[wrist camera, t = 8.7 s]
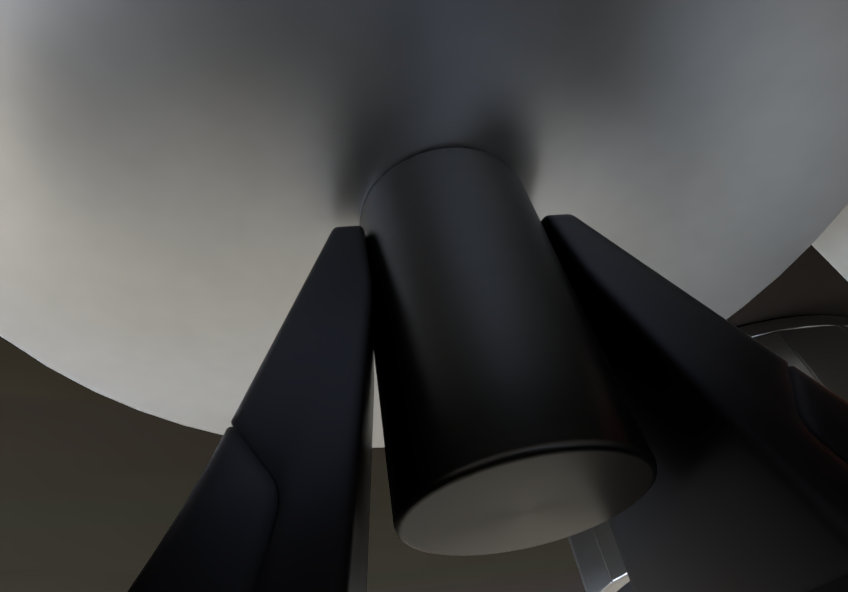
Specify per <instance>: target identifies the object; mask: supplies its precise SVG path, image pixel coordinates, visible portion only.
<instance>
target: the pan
mask: <svg viewBox="0 0 848 592" xmlns="http://www.w3.org/2000/svg"><path fill="white" fill-rule="evenodd" d="M739 329H740V330H742V331H743V332H745V333H746V334H748V335H749V336H751V337H752V338H754V339H755V340H756V341H758V342H759V343H761V344H762V345H764V346H765V347H767V348H768V349H770V350H771V351H773V352H774V353H775V354H777V355H778V356H780V357H781V358H783V359H784V360H786V361H787V363H788V366H795V367H796V368H798V369H799V370H801V371H802V372H804V373H805V374H806V375H808V376H809V377H811V378H812V379H814V380H815V381H817V382H818V383H820V384H821V385H822V386H824V387H826V388H827V389H829V390H830V391H832V392H833V393H835V394H836V395H838V396H839V397H841V398H842V399H844V400H845V401H847V402H848V317H843V316H830V315H811V316H796V317H788V318H781V319H774V320H769V321H764V322H760V323H755V324H750V325H746V326H742V327H739ZM568 539H569V542H570V545H571V548H572V551H573V554H574V557H575V560H576V563H577V567H578V570H579V573H580V576H581V579H582V582H583V585H584V588H585V591H586V592H634V590H633V588H632V585H631V582H630V579H629V577H628V574H627V571H626V568H625V565H624V563H623V560H622V557H621V554H620V551H619V549H618V546H617V543H616V540H615V538H614V535H613V532H612V529H611V526H610V524H609V521H608V520H607V521H605V522H603V523H601V524H599V525H597V526H594V527H592V528H590V529H587V530H585V531H582V532H580V533H577V534H574V535H572V536H569V537H568Z"/></svg>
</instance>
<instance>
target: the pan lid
mask: <svg viewBox="0 0 848 592" xmlns="http://www.w3.org/2000/svg"><path fill="white" fill-rule="evenodd" d="M847 204H848V0H0V336H1V337H3V338H4V339H6V340H7V341H9V342H10V343H12V344H13V345H15V346H16V347H18V348H19V349H21V350H23V351H24V352H26V353H27V354H29V355H30V356H32V357H33V358H35V359H36V360H38V361H39V362H41V363H42V364H44V365H45V366H47V367H49V368H51V369H53V370H54V371H56V372H58V373H60V374H62V375H64V376H66V377H68V378H69V379H71V380H73V381H75V382H77V383H79V384H81V385H83V386H85V387H86V388H88V389H90V390H92V391H94V392H96V393H99V394H101V395H103V396H106V397H108V398H111V399H113V400H115V401H118V402H120V403H122V404H125V405H127V406H129V407H132V408H134V409H136V410H139V411H142V412H145V413H148V414H151V415H154V416H157V417H160V418H163V419H166V420H169V421H172V422H175V423H178V424H181V425H184V426H188V427H192V428H196V429H200V430H204V431H208V432H212V433H216V434H220V435H224V433H225V431H226V429H227V428H228V427H232V424H231V420H232V418H233V417H234V415H235V413H236V411H237V409H238V407H239V405H240V403H241V401H242V400H243V398H244V396H245V394H246V392H247V390H248V388H249V386H250V384H251V383H252V381H253V379H254V377H255V375H256V373H257V371H258V369H259V367H260V366H261V364H262V362H263V360H264V358H265V356H266V354H267V352H268V350H269V349H270V347H271V345H272V343H273V341H274V339H275V337H276V335H277V333H278V332H279V330H280V328H281V326H282V324H283V322H284V320H285V318H286V316H287V315H288V313H289V311H290V309H291V307H292V305H293V303H294V301H295V299H296V297H297V296H298V294H299V292H300V290H301V288H302V286H303V284H304V282H305V280H306V279H307V277H308V275H309V273H310V271H311V269H312V267H313V265H314V263H315V262H316V260H317V258H318V256H319V254H320V252H321V250H322V248H323V246H324V245H325V243H326V241H327V239H328V237H329V235H330V233H331V231H332V230H333V229H334V228H335V227H344V226H361V227H363V229H364V232H365V238H366V245H367V252H368V258H369V265H370V272H371V278H372V292H373V349H374V409H373V435H372V448H382V447H385V453H386V462H387V471H388V480H389V488H390V497H391V506H392V514H393V523H394V529H395V530H396V532H397V534H398V536H399V538H400V539H401V540H402V541H403V542H404V543H405V544H407V545H409V546H410V547H412V548H415V549H417V550H420V551H424V552H429V553H435V554H442V555H457V556H469V555H485V554H495V553H502V552H509V551H515V550H520V549H525V548H529V547H534V546H538V545H542V544H546V543H549V542H553V541H556V540H560V539H563V538H566V537H569V536H572V535H574V534H577V533H580V532H582V531H585V530H587V529H590V528H592V527H594V526H597V525H599V524H601V523H603V522H605V521H607V520H609V519H611V518H612V517H614V516H616V515H618V514H620V513H621V512H623V511H624V510H626V509H627V508H629V507H630V506H632V505H633V504H634V503H635V502H637V501H638V500H639V499H641V498H642V497H643V496H644V495H645V494H646V493H647V492H648V490H649V489H650V488H651V487H652V485H653V483H654V481H655V479H656V475H657V464H656V459H655V457H654V455H653V453H652V451H651V449H650V447H649V445H648V443H647V441H646V439H645V436H644V434H643V432H642V430H641V428H640V426H639V424H638V422H637V420H636V418H635V416H634V414H633V412H632V410H631V407H630V405H629V403H628V401H627V399H626V397H625V395H624V393H623V391H622V389H621V387H620V385H619V383H618V381H617V378H616V376H615V374H614V372H613V370H612V368H611V366H610V364H609V362H608V360H607V358H606V356H605V354H604V352H603V349H602V347H601V345H600V343H599V341H598V339H597V337H596V335H595V333H594V331H593V329H592V327H591V325H590V323H589V320H588V318H587V316H586V314H585V312H584V310H583V308H582V306H581V304H580V302H579V300H578V298H577V296H576V294H575V292H574V289H573V287H572V285H571V283H570V281H569V279H568V277H567V275H566V273H565V271H564V269H563V267H562V265H561V263H560V260H559V258H558V256H557V254H556V252H555V250H554V248H553V246H552V244H551V242H550V240H549V238H548V236H547V234H546V231H545V229H544V227H543V225H542V223H541V220H542V219H543V218H544V217H545V216H547V215H560V214H571V215H573V216H575V217H577V218H578V219H580V220H581V221H582V222H584V223H585V224H587V225H588V226H590V227H591V228H593V229H594V230H596V231H597V232H599V233H600V234H601V235H603V236H604V237H606V238H607V239H609V240H610V241H612V242H613V243H615V244H616V245H618V246H619V247H620V248H622V249H623V250H625V251H626V252H628V253H629V254H631V255H632V256H634V257H635V258H637V259H638V260H640V261H641V262H642V263H644V264H645V265H647V266H648V267H650V268H651V269H653V270H654V271H656V272H657V273H659V274H660V275H661V276H663V277H664V278H666V279H667V280H669V281H670V282H672V283H673V284H675V285H676V286H678V287H679V288H680V289H682V290H683V291H685V292H686V293H688V294H689V295H691V296H692V297H694V298H695V299H697V300H698V301H699V302H701V303H702V304H704V305H705V306H707V307H708V308H710V309H711V310H713V311H714V312H716V313H717V314H718V315H720V316H721V317H723V318H724V319H727V318H729V317H730V316H732V315H733V314H734V313H736V312H737V311H738V310H740V309H741V308H742V307H744V306H745V305H746V304H747V303H748V302H750V301H751V300H752V299H753V298H754V297H755V296H757V295H758V294H759V293H760V292H761V291H762V290H764V289H765V288H766V287H767V286H768V285H769V284H771V283H772V282H773V281H774V280H775V279H776V278H778V277H779V276H780V275H781V274H782V273H783V272H784V271H785V270H786V269H787V268H788V267H789V266H790V265H791V264H792V263H793V262H794V261H795V260H796V259H797V258H798V257H799V256H800V255H801V254H802V253H803V252H804V251H805V250H806V249H807V248H808V247H809V246H810V245H811V244H812V243H814V242H815V241H816V240H817V239H818V237H819V236H820V235H821V234H822V233H823V232H824V231H825V229H826V228H827V227H828V226H829V225H830V224H831V222H832V221H833V220H834V219H835V218H836V217H837V216H838V214H839V213H840V212H841V211H842V210H843V209H844V208H845V206H846V205H847Z"/></svg>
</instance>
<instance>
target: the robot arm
mask: <svg viewBox="0 0 848 592" xmlns="http://www.w3.org/2000/svg"><path fill="white" fill-rule="evenodd" d="M541 223H542V225H543V227H544V229H545V231H546V234H547V236H548V238H549V240H550V242H551V244H552V246H553V248H554V250H555V252H556V254H557V256H558V258H559V260H560V263H561V265H562V267H563V269H564V271H565V273H566V275H567V277H568V279H569V281H570V283H571V285H572V287H573V289H574V292H575V294H576V296H577V298H578V300H579V302H580V304H581V306H582V308H583V310H584V312H585V314H586V316H587V318H588V320H589V323H590V325H591V327H592V329H593V331H594V333H595V335H596V337H597V339H598V341H599V343H600V345H601V347H602V349H603V352H604V354H605V356H606V358H607V360H608V362H609V364H610V366H611V368H612V370H613V372H614V374H615V376H616V378H617V381H618V383H619V385H620V387H621V389H622V391H623V393H624V395H625V397H626V399H627V401H628V403H629V405H630V407H631V410H632V412H633V414H634V416H635V418H636V420H637V422H638V424H639V426H640V428H641V430H642V432H643V434H644V436H645V439H646V441H647V443H648V445H649V447H650V449H651V451H652V453H653V455H654V457H655V459H656V464H657V475H656V479H655V481H654V483H653V485H652V487H651V488H650V489H649V490H648V492H647V493H646V494H645V495H644V496H643V497H642V498H641V499H639V500H638V501H637V502H635V503H634V504H633V505H632V506H630V507H629V508H627V509H626V510H624V511H623V512H621V513H620V514H618V515H616V516H614V517H612V518H611V519H609V520H608V521H609V524H610V526H611V529H612V532H613V535H614V538H615V540H616V543H617V546H618V549H619V551H620V554H621V557H622V560H623V563H624V565H625V568H626V571H627V574H628V577H629V579H630V582H631V585H632V588H633V590H634V592H848V402H847V401H845V400H844V399H842V398H841V397H839V396H838V395H836V394H835V393H833V392H832V391H830V390H829V389H827V388H826V387H824V386H822V385H821V384H820V383H818V382H817V381H815V380H814V379H812V378H811V377H809V376H808V375H806V374H805V373H804V372H802V371H801V370H799V369H798V368H796V367H795V366H788V363H787V361H786V360H784V359H783V358H781V357H780V356H778V355H777V354H775V353H774V352H773V351H771V350H770V349H768V348H767V347H765V346H764V345H762V344H761V343H759V342H758V341H756V340H755V339H754V338H752V337H751V336H749V335H748V334H746V333H745V332H743V331H742V330H740V329H739V328H737V327H736V326H735V325H733V324H732V323H730V322H729V321H727V320H726V319H724V318H723V317H721V316H720V315H718V314H717V313H716V312H714V311H713V310H711V309H710V308H708V307H707V306H705V305H704V304H702V303H701V302H699V301H698V300H697V299H695V298H694V297H692V296H691V295H689V294H688V293H686V292H685V291H683V290H682V289H680V288H679V287H678V286H676V285H675V284H673V283H672V282H670V281H669V280H667V279H666V278H664V277H663V276H661V275H660V274H659V273H657V272H656V271H654V270H653V269H651V268H650V267H648V266H647V265H645V264H644V263H642V262H641V261H640V260H638V259H637V258H635V257H634V256H632V255H631V254H629V253H628V252H626V251H625V250H623V249H622V248H620V247H619V246H618V245H616V244H615V243H613V242H612V241H610V240H609V239H607V238H606V237H604V236H603V235H601V234H600V233H599V232H597V231H596V230H594V229H593V228H591V227H590V226H588V225H587V224H585V223H584V222H582V221H581V220H580V219H578V218H577V217H575V216H573V215H571V214H560V215H547V216H545V217H544V218H543V219H542V220H541ZM373 409H374V349H373V292H372V278H371V272H370V265H369V258H368V252H367V245H366V238H365V232H364V229H363V227H361V226H344V227H335V228H334V229H333V230H332V231H331V233H330V235H329V237H328V239H327V241H326V243H325V245H324V246H323V248H322V250H321V252H320V254H319V256H318V258H317V260H316V262H315V263H314V265H313V267H312V269H311V271H310V273H309V275H308V277H307V279H306V280H305V282H304V284H303V286H302V288H301V290H300V292H299V294H298V296H297V297H296V299H295V301H294V303H293V305H292V307H291V309H290V311H289V313H288V315H287V316H286V318H285V320H284V322H283V324H282V326H281V328H280V330H279V332H278V333H277V335H276V337H275V339H274V341H273V343H272V345H271V347H270V349H269V350H268V352H267V354H266V356H265V358H264V360H263V362H262V364H261V366H260V367H259V369H258V371H257V373H256V375H255V377H254V379H253V381H252V383H251V384H250V386H249V388H248V390H247V392H246V394H245V396H244V398H243V400H242V401H241V403H240V405H239V407H238V409H237V411H236V413H235V415H234V417H233V418H232V420H231V424H232V427H228V428H227V429H226V431H225V433H224V435H223V437H222V439H221V441H220V442H219V444H218V446H217V448H216V450H215V452H214V454H213V456H212V458H211V459H210V461H209V463H208V465H207V466H206V468H205V470H204V472H203V473H202V475H201V477H200V479H199V480H198V482H197V484H196V486H195V487H194V489H193V491H192V493H191V494H190V496H189V498H188V500H187V501H186V503H185V505H184V507H183V508H182V510H181V511H180V513H179V514H178V516H177V517H176V519H175V520H174V522H173V524H172V525H171V527H170V528H169V530H168V531H167V533H166V534H165V536H164V538H163V539H162V541H161V542H160V544H159V545H158V547H157V548H156V550H155V552H154V553H153V555H152V556H151V558H150V559H149V561H148V562H147V564H146V565H145V567H144V568H143V570H142V571H141V573H140V574H139V575H138V577H137V578H136V580H135V581H134V583H133V584H132V586H131V587H130V589H129V590H128V592H367V569H368V542H369V515H370V489H371V462H372V435H373Z"/></svg>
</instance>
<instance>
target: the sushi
mask: <svg viewBox="0 0 848 592" xmlns="http://www.w3.org/2000/svg"><path fill="white" fill-rule="evenodd" d="M811 245H812V246H813V247H814V248H815V249H816V250H817V251H818V252H819V253H820V254H821V255H822V256H823V257H824V258H825V259H826V260H827V261H828V262H829V263H830V264H831V265H832V266H833V267H834V268H835V269H836V270H837V271H838V272H839V273H840V274H841V275H842V276H843V277H844V278H845V279H846V280H847V281H848V204H847V205H846V206H845V208H844V209H843V210H842V211H841V212H840V213H839V214H838V216H837V217H836V218H835V219H834V220H833V221H832V222H831V224H830V225H829V226H828V227H827V228H826V229H825V231H824V232H823V233H822V234H821V235H820V236H819V237H818V239H817V240H816V241H815V242H814V243H812V244H811Z"/></svg>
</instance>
